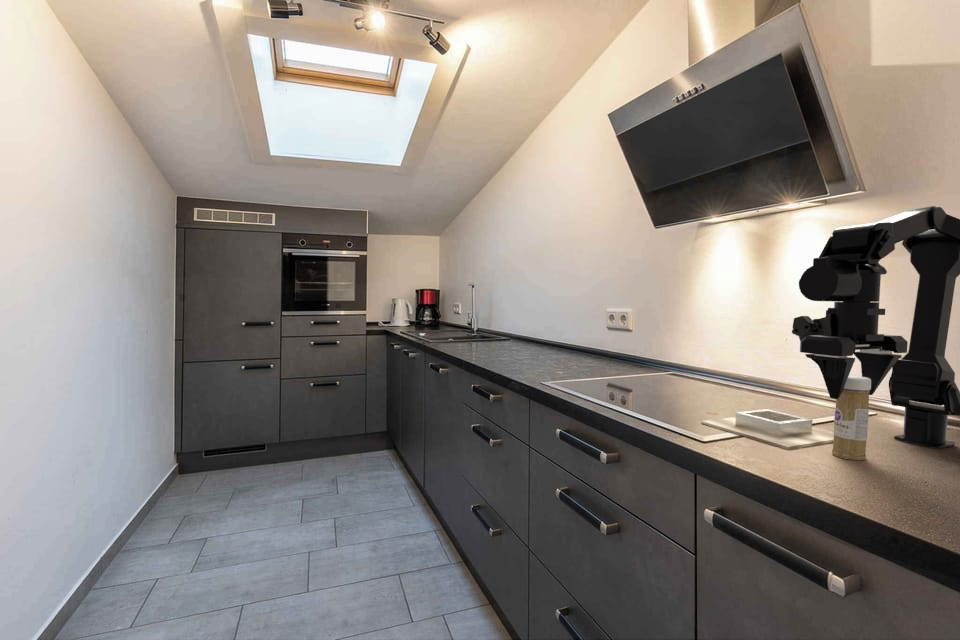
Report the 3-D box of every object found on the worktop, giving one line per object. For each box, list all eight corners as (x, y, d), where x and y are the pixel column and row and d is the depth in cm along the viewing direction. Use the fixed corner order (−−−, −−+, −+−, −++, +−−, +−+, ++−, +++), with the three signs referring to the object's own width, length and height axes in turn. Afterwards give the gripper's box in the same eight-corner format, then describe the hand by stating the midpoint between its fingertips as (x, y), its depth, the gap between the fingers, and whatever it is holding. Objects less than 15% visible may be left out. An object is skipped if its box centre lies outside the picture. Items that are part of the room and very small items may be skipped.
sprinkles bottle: (824, 452, 79) (828, 374, 78) (849, 452, 79) (853, 374, 79) (848, 461, 74) (853, 378, 74) (874, 461, 75) (879, 378, 74)
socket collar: (766, 420, 97) (766, 409, 97) (811, 432, 89) (812, 419, 89) (735, 424, 94) (735, 412, 94) (779, 437, 85) (780, 423, 85)
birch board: (760, 416, 103) (760, 414, 103) (851, 439, 87) (851, 436, 87) (701, 423, 96) (701, 421, 96) (787, 449, 80) (788, 446, 80)
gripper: (837, 302, 86) (833, 384, 87) (770, 301, 79) (766, 391, 80) (911, 302, 76) (906, 396, 77) (842, 301, 69) (837, 404, 70)
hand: (851, 396), depth 76 cm, fingers open, 9 cm apart
